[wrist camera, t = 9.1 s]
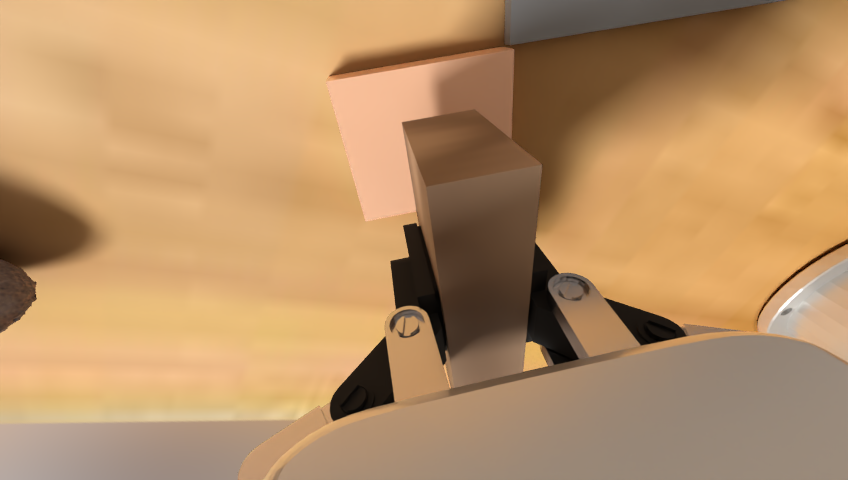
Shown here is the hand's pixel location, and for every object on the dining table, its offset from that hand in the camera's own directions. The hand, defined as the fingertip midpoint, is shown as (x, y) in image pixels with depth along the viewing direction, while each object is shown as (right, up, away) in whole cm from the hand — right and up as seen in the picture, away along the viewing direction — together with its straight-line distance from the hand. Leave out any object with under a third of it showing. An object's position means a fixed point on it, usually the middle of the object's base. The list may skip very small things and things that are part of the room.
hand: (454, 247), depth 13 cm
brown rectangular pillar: (0, 0, +1) cm, 1 cm away
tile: (-1, +2, +3) cm, 4 cm away
